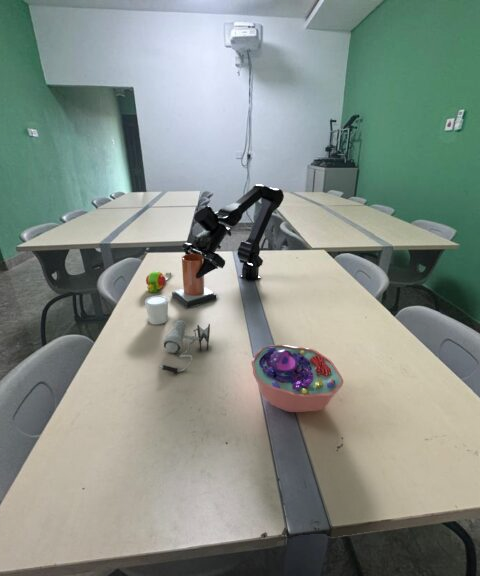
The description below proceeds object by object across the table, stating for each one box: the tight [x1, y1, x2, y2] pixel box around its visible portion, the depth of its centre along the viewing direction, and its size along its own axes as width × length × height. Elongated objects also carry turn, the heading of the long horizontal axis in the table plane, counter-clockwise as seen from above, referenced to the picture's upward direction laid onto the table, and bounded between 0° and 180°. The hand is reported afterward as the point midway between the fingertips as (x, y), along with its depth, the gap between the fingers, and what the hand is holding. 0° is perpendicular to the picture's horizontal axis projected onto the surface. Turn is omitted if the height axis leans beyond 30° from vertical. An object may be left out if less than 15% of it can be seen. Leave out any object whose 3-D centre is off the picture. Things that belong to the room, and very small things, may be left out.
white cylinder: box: [144, 295, 169, 325], centre depth 99 cm, size 7×7×7 cm
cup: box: [181, 254, 205, 296], centre depth 111 cm, size 7×7×13 cm
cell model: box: [251, 344, 344, 413], centre depth 69 cm, size 17×20×11 cm
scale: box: [171, 286, 217, 309], centre depth 115 cm, size 12×11×2 cm
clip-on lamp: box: [158, 320, 211, 374], centre depth 83 cm, size 12×6×18 cm
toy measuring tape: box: [145, 270, 172, 293], centre depth 124 cm, size 6×20×7 cm, turn 173°
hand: (189, 274), depth 110 cm, fingers closed on cup, 7 cm apart
